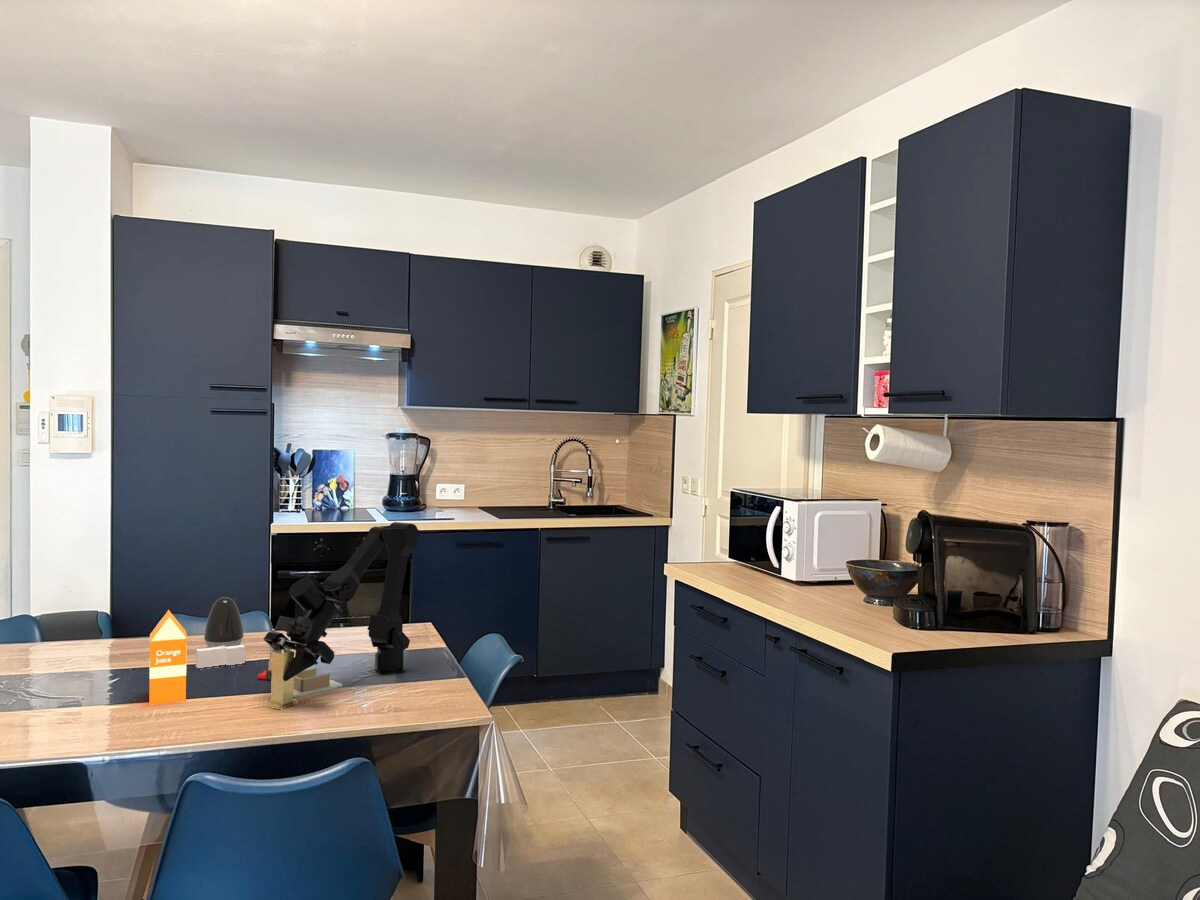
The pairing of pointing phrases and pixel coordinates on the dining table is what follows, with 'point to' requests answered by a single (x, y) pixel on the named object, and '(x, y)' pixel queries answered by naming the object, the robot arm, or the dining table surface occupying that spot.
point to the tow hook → (267, 673)
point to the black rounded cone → (224, 624)
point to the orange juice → (167, 661)
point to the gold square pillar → (281, 680)
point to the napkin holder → (220, 656)
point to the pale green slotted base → (312, 683)
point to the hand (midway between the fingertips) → (277, 678)
